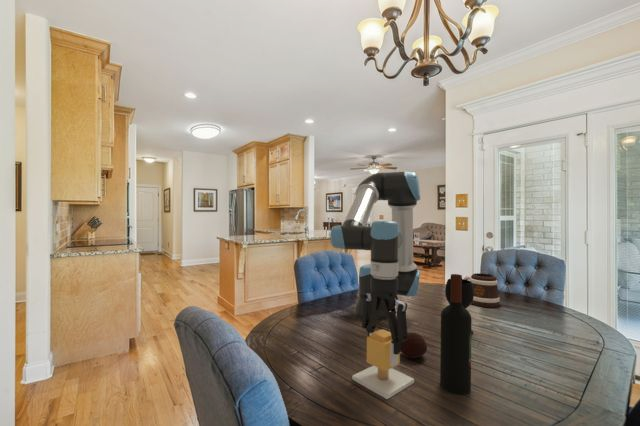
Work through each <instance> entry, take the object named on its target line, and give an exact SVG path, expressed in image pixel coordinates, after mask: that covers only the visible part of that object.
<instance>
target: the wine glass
mask: <svg viewBox="0 0 640 426" xmlns="http://www.w3.org/2000/svg"><path fill="white" fill-rule="evenodd" d="M444 289H445V290H444V295H445V299H446V301H447V302H448V305H449V304H450V301H451V278H447V280H446V284H445V288H444ZM473 298H474V291H473V286H472V282H471V281H470V280H465V279H464V278H462V306H463V307H464V308H465V309H466V310H467V308H468V307H470V305H472V304H471V303H472V301H473ZM473 334H474V331H473V330H472V329H471V336H473Z"/></svg>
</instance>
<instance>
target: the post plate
mask: <svg viewBox="0 0 640 426" xmlns="http://www.w3.org/2000/svg"><path fill="white" fill-rule="evenodd" d="M351 379H352V380H353V381H355V382H356V383H357V384H359V385H361V386H363V387H365V388H366V389H368V390H370V391H372V392H374V393H375V394H377V395H379V396H380V397H382V398H384V399H386V400H389V399H390V398H392V397H393V396H395V395H397V394H398V393H400V392H402V391H404V390H405V389H406V388H408V387H411V386H412V385H413V384H414V383H415V379H414V378H413V377H411V376H409V375H407V374H405V373H403V372H400V371H399V370H396V369H394V368H391V369H389V370H387V371H383V370H381V369H379V368H377V367H375V366H373V365H371V366H369V367H367V368H365V369H364V370H361V371H359V372H357V373H355V374H352V377H351Z"/></svg>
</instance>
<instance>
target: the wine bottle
mask: <svg viewBox="0 0 640 426" xmlns="http://www.w3.org/2000/svg"><path fill="white" fill-rule="evenodd" d="M450 279H451V301H450V304H449V303H448V305H447V306H445V307H444V308H443V309H442V310H441V311H440V312H441V314H440V360H439V361H440V366H439V368H440V369H439V370H440V373H439V375H440V378H439V380H440V381H439V383H440V384H439V385H440V387H441V388H442V389H443V390H444V391H446V392H447V393H451V394H455V395H458V396H459V395H462V396H463V395H468V394H470V393H471V391H472V390H471V389H472V386H471V385H472V335H471V330H472V315H471V313H470V311H469V310H467V308H466V309H465V308H464V307H463V306H462V279H463V275H462V274H457V273H451V274H450Z"/></svg>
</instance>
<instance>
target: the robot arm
mask: <svg viewBox="0 0 640 426" xmlns="http://www.w3.org/2000/svg"><path fill="white" fill-rule="evenodd" d="M420 189H421V188H420V181H419V176H418V174H417V173H416V172H414V171H393V172H391V171H389V172H377V173H373V174H372V175H369V176H368V177H366V178H365V179H363V180H362V181H361V182H360V183H359V184H358V186H357V188H356V190H355V198H354V199H353V202H352V205H351V206H350V208H349V211H348V212H347V216H346V217H345V220H344V222H343V223H342V225H340V224H339V225H334V226H332V228H331V230H330V243H331V246H332V247H333V248H334V249H343V250H353V251H354V250H355V251H356V250H357V251H358V250H359V251H361V250H363V251H370V263H368V264H364V265H361V266H360V267H359V270H358V271H359V272H358V299H357V302H356V305H355V308H354V315H355V317H356V318H358V319H360V320H362V321H361V327H362V329H365V330H366V332H367V337H368V336H371V335H372V333H373V332H376V331H378V329H377V325H378V321H385V320H386V319H387V325H388V327H389V328H388V329H389V332H391V336H392V341H390V366H391V367H393V366H395V365H397V364H398V354H399V353H400V354H401V351H400V349H401V342H403V341H406V340H407V339H408V338H407V333H408V325H407V308H408V303H407V302H402V301H400V300H399V297H398V296H401V297H402V296H404V297H416V296H417V294H418V292H419V291H418V290H419V286H420V284H419V283H420V276H421V270H420V269H418V265H417V264H416V263H415V262H414V211H413V210H414V208H415V207H416V206H417V203H418V201H420V200H421V190H420ZM378 201H387V205H388V207H390V209H391V220H374V221H372V222H371V225H370V226H368V225H367V223H368V220H369V218H370V216H371V213H372V211H373V210H372V209H373V207H374V205H375V204H376V203H377V202H378ZM397 366H398V365H397ZM395 367H396V366H395ZM393 368H394V367H393Z"/></svg>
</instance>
